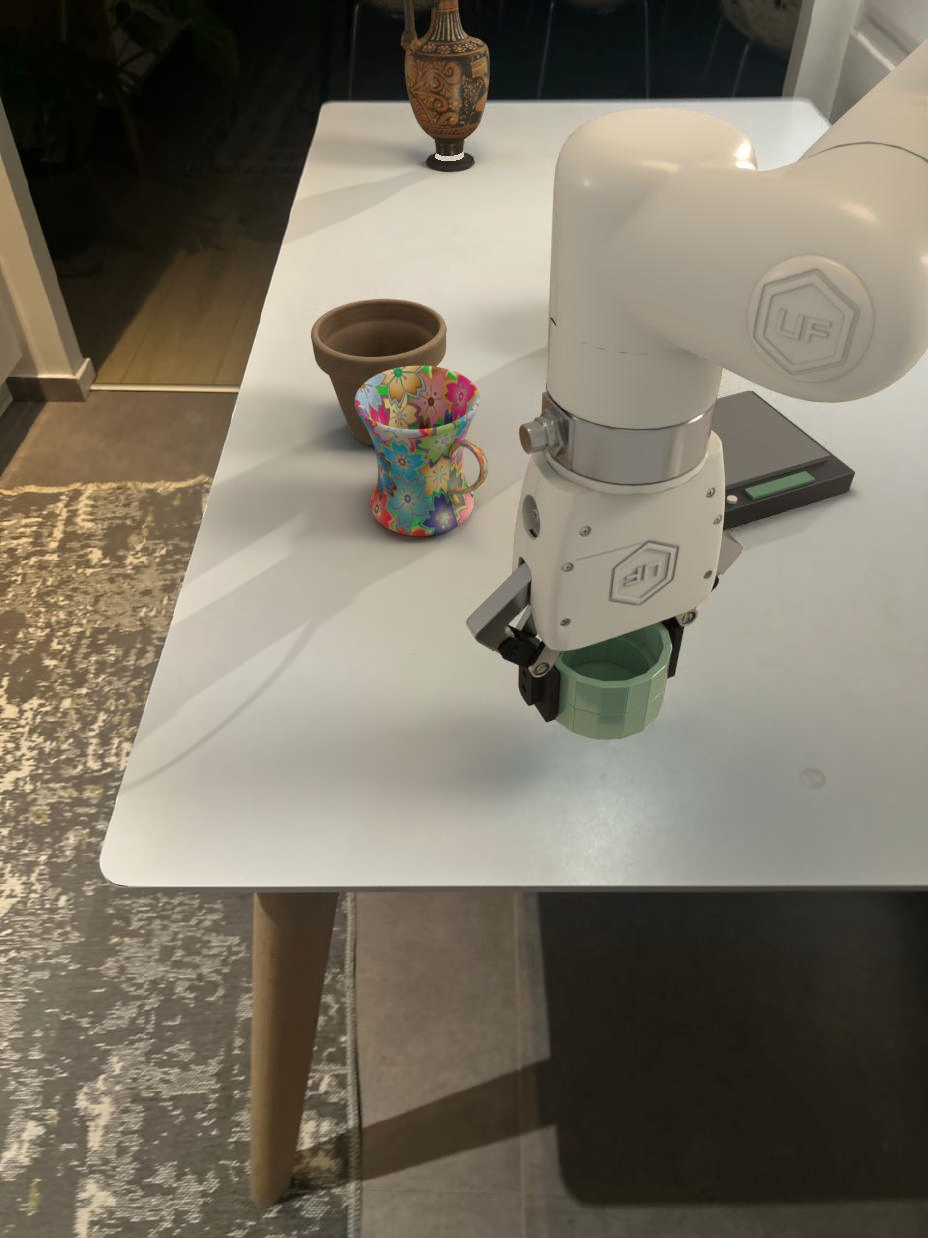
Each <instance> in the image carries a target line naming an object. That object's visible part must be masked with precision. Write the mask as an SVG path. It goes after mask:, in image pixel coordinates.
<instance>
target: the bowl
mask: <svg viewBox="0 0 928 1238" xmlns="http://www.w3.org/2000/svg"><path fill="white" fill-rule="evenodd" d="M671 654H672V644H671V640H670V636H669V632H668V630H667V628H666V627H665V626H664V625H663V624H662V622H661V621H660V622H657V623H655V624H652V625H649V626H646V627H643V628H640V629H638V630H635V631H632V632H629V633H626V634H623V635H620V636H617V637H614V638H611V639H608V640H605V641H602V642H599V643H596V644H593V645H590V646H586V647H583V648H579V649H575V650H569V651H562V652H561V653H560V655H559V657H558V658H557V660H556V662H555V663H554V666H555V667H556V668H557V669H558V670H559V672H560V676H561V678H560V693H559V708H558V716H557V717H556V719H555V720H554V721H555V722H557V723H558V724H559V725H561V726H562V727H564V728H565V729H567V730H568V731H570V732H571V733H573V734H575V735H579V736H581V737H585V738H588V739H592V740H596V741H601V740H602V741H611V740H623V739H626V738H628V737H630V736H634V735H637V734H639V733H641V732H643V731H644V730H645V729H647V728H648V727H649V726H650V725H651V724H652V723H653V722H654V721H655V720H656V719H657V718H658V717H659V715H660V712H661V708H662V706H663V703H664V700H665V699H664V698H665V693H666V687H667V683H668V679H667V676H668V671H669V665H670V659H671Z"/></svg>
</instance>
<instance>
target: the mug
mask: <svg viewBox="0 0 928 1238" xmlns="http://www.w3.org/2000/svg"><path fill="white" fill-rule="evenodd" d="M480 397H481V396H480V392H479V390H478V388H477V386H476V385H475V383H473V381H472V380H471V379H469V378H468V377H466V376H465V375H463V374H461V373H459V372H457V371H454V370H452V369H448V368H444V367H440V366H436V367H434V366H407V367H400V368H395V369H391V370H388V371H385V372H382V373H380V374H377V375H376V376H374V377H372V378H370V379H369V380H367V381H366V382H365V383H364V384H363V385H362V386H361V387H360V388H359V390H358V391H357V393H356V396H355V409H356V411H357V413H358V415H359V416H360V418H361V419H362V421H363V423H364V424H365V426H366V428H367V430H368V432H369V434H370V436H371V438H372V441H373V444H374V446H373V448H374V450H375V456H376V460H377V479H376V484H375V488H374V489H373V492H372V494H371V496H370V502H369V505H370V510H371V512H372V515H373V517H374V518H375V520H377V522H378V523H380V524H381V525H382V526H383V527H385V528H386V529H388V530H391V531H393V532H395V533H398V534H402V535H407V536H414V537H425V536H434V535H439V534H443V533H446V532H449V531H452V530H454V529H455V528H457V527H459V526H460V525H462V524H463V523H464V522H465V521H466V520H468V518H469V517H470V515H471V514H472V512H473V509H474V506H475V494H474V491H476V490H477V489H478V488H479V487H481V486H482V485H483V483H484V482H485V480H486V479H487V477H488V473H489V460H488V458H487V456H486V454H485V452H484V451H483V449H482V448H481V447H480V446H479V444H477V443H476V442H474V441H473V440H471V439H466V438H467V436H468V435H467V434H468V432H469V428H470V427H471V423H472V421H473V418H474V417H475V415H476V413H477V412H478V409H479V405H480V401H481V398H480ZM465 448H466V449H468V450H469V451H470V452H471V453H472V454H473V456H475V458H476V460H477V462H478V465H479V473H478V476H477V479H476V480H475V482H474V483H473V484H472V485H470V484H469V483H468V480H467V478H466V474H465V469H464V450H465Z"/></svg>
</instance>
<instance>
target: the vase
mask: <svg viewBox="0 0 928 1238" xmlns="http://www.w3.org/2000/svg"><path fill="white" fill-rule="evenodd" d="M402 3H403V12H404V15H403V16H404V30H403V31H402V34H401V40H400V46H401V48H402V49H403V50H405V55H404V77H405V85H406V90H407V95H408V100H409V105H410V108H411V110H412V113H413V115H414V118H415V120H416V122H417V124H418V125H419V127H420V129H421V130H422V131H423V132H424V133H425V134H426V135H427V136H429V137H430V138H431V139H433V140H434V144H435V152H434V153H431V154H430V155H429V156H428V157H426V160H425V165H426V166H427V167H428V168H430V169H433V170H437V171H442V172H456V171H463V170H467V169H469V168H471V167H473V166H474V165H475V162H476V161H475V158H474V156H473V155H471V154H470V153H467V152H464V157H463V158H462V159H460V160H456V161H441V160H438V159H436V158H435V154H436V153H437V154H439V155H441V156H454V155H458V154H460V153H462V152H463V150H464V146H465V140H466V139H468V138H469V137H470V136H471V135H472V134H473V133H475V131H476V130H477V129H478V127H479V125H480V123H481V121H482V119H483V115H484V112H485V108H486V104H487V99H488V94H489V93H488V92H489V84H490V72H491V71H490V70H491V69H490V68H491V63H490V62H491V59H490V51H489V47H488V45H487V44H486V43H485V42H484V41H482V40H481V39H479V38H476V37H474V36H473V37H472V36H469V35H468V34H467V33H466V32H465V31H464V29H463V26H462V23H461V18H460V12H459V0H431V17H430V24H429V27H428V30H427V32H426V33H425V34H424V35H423V36H422V37H421V38H419V39H418V36H417V31H416V26H415V25H416V24H415V12H414V3H413V0H402Z"/></svg>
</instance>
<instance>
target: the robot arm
mask: <svg viewBox="0 0 928 1238" xmlns="http://www.w3.org/2000/svg"><path fill="white" fill-rule="evenodd" d="M755 151H756V150H755V148H754V146H753V144H752V142H751V140H750V138H749V137H748V136H747V135H746V134H745V133H744V132H743V131H742V130H741V129H740V128H739V127H738V126H736V125H735V124H734V123H731V122H729V121H727V120H725V119H722V118H719V117H717V116H715V115H712V114H707V113H704V112H700V111H694V110H689V109H682V108H681V109H680V108H671V107H670V108H668V107H647V108H633V109H624V110H620V111H614V112H610V113H607V114H604V115H600V116H597V117H594V118H591V119H590V120H587V121H586V122H584V123H582V124H581V125H580V126H578V127H577V128H575V130H573V131H572V132H571V133H570V135H568V137H567V139H566V140H565V141H564V143H563V144H562V146H561V149H560V151H559V153H558V156H557V160H556V164H555V168H554V178H553V191H552V213H551V214H552V218H551V241H550V244H551V245H550V265H549V292H548V293H549V294H548V295H549V296H548V322H547V323H548V324H547V347H546V348H547V349H546V350H547V351H546V376H545V377H546V379H545V380H546V383H545V391H544V392H542V393H541V413H540V415H539V416H538V417H535V418H534V419H533V421H530V422H527V423H526V422H525V423H522V424H521V425H520V426H519V428H518V436H519V441H520V445H521V447H522V450H523V451H524V452H525V453H526V454H527V455H530V457H529V460H528V463H527V467H526V470H525V475H524V478H523V483H522V487H521V491H520V497H519V501H518V507H517V512H516V513H517V514H516V521H515V527H514V536H513V544H512V545H513V546H512V559H511V560H512V561H511V562H512V563H511V574H510V575H509V576H508V577H507V578H506V579H505V580H504V581H503V582H502V583H501V584H500V585H499V586H498V587H497V588H496V589H495V590H494V591H493V592H492V593H491V594H490V595H489V596H488V597H487V598H486V599H485V600H484V601H483V602H482V603H481V604H480V605H478V606H477V608H476V609H475V610H474V611H473V612H472V613H471V614H470V615H469V616H468V617H467V618H466V620H465V626H466V627H467V628H468V630H469V632H470V634H471V635H472V637H473V639H474V640H475V641H476V643H478V644H480V645H482V646H483V647H484V648H487V649H489V650H490V651H492V652H495V653H497V654H499V655H500V656H501V658H502V659H503V660H505V661H507V662H510V663H512V664H514V665H517V666H518V677H517V679H518V680H517V683H518V684H517V685H518V691H519V693H520V696H521V698H522V699H523V701H524V702H525V705H527V706H528V707H531V706H534V707H535V708H536V710H537V711H538V713H539V715H540V716H541V717H542V719H543V720H544V722H545V723H550V722H553V721H555V719H556V717H557V716H558V708H559V693H560V678H561V676H560V672H559V670H558V669H557V668H556V667H555V666H554V663H555V662H556V660H557V658H558V657H559V655H560V653H561V652H562V651H569V650H575V649H579V648H583V647H586V646H590V645H593V644H596V643H599V642H602V641H605V640H608V639H611V638H614V637H617V636H620V635H623V634H626V633H629V632H632V631H635V630H638V629H640V628H643V627H646V626H649V625H652V624H655V623H657V622H660V621H661V622H662V624H663V625H664V626H665V627H666V628H667V630H668V632H669V636H670V640H671V644H672V654H671V659H670V665H669V671H668V676H667V680H668V679H671V678H673V677H675V676H676V672H677V668H678V667H677V666H678V662H679V657H680V652H681V646H682V642H683V637H684V632H685V627H688V626H690V625H692V624H693V623H694V622H695V621H696V619H697V618H698V616H699V613H698V610H697V607H699V606H700V605H701V604H703V603H704V602H705V601H706V600H707V599H708V598H709V596H710V595H711V593H712V592H713V591H714V590H715V589H716V588H717V586H718V585H719V583H720V576H721V575H724V574H725V573H726V572H727V570H728V569H729V568H730V567H731V566H732V564H733V563H734V562H735V561H736V560H737V559H738V558H739V557H740V555H741V554H742V553H743V550H744V547H743V545H742V544H741V543H740V542H738V541H737V540H736V538H734V537H733V535H731V534H730V533H729V532H728V531H726V530H723V522H724V508H725V472H724V460H723V449H722V442H721V440H720V438H719V437H718V435H717V434H716V433H715V432H713V431H712V430H711V429H712V424H713V419H714V413H715V408H716V402H717V399H718V397H719V392H720V388H721V387H720V386H721V381H722V376H723V371H724V370H726V371H727V372H729V373H732V374H735V375H737V376H739V377H741V378H742V379H745V380H746V381H749V382H751V383H752V384H755V385H757V386H760V387H762V388H764V389H767V390H769V391H772V392H775V393H777V394H781V395H783V396H786V397H789V398H792V399H796V400H797V399H798V400H802V401H807V402H812V403H825V404H828V403H829V404H836V403H837V404H839V403H840V404H841V403H846V402H847V403H848V402H853V401H857V400H861V399H864V398H867V397H871V396H874V395H875V394H877V393H880V392H882V391H884V390H885V389H887V388H890V387H891V386H892V385H893V384H895V383H896V382H898V381H899V380H900V379H902V378H903V377H904V376H905V375H907V374H908V373H909V372H910V371H911V370H912V369H913V368H914V367H915V366H917V365H916V364H917V363H918V362H919V361H920V360H921V358H922V357H923V355H924V354H925V353H926V352H927V350H928V37H927V38H925V40H924V41H922V42H921V44H920V45H918V46H917V47H916V48H915V49H914V50H912V52H911V53H909V55H907V57H906V58H904V59H902V61H901V62H900V63H899V64H898V65H897V66H896V67H894V68H893V69H892V70H891V71H890V72H889V73H888V74H887V75H886V76H885V77H883V78H882V79H881V80H880V81H879V82H878V83H877V84H876V85H875V86H874V87H872V88H871V89H870V90H869V91H868V92H867V93H866V94H865V95H863V97H862V98H861V99H859V100H858V101H857V102H856V103H855V104H854V105H853V106H852V107H850V108H849V109H848V110H847V111H846V112H845V113H844V114H842V116H841V117H840V118H838V119H837V120H836V121H835V122H834V123H833V124H832V125H831V126H830V127H829V128H828V129H827V130H826V131H825V132H824V133H823V134H822V135H821V136H820V137H819V138H818V139H817V140H816V141H815V142H813V144H811V145H810V146H809V147H808V148H807V150H806V151H804V152H803V154H802V155H801V156H800V157H799V158H798V159H797V160H796V161H794V162H792V163H789V164H786V165H783V166H780V167H777V168H774V169H773V168H772V169H767V170H760V171H758V161H757V156H756V152H755ZM524 610H525V611H524ZM522 612H523V614H522V615H521V618H520V619H519V621H518V622H517V624H516V626H515V627H514V626H512V625H510V623H511V622H513V621H514V620H515V618H517V617H518V616H519V614H521V613H522ZM537 636H538V637H539V638H538V637H537Z"/></svg>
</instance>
